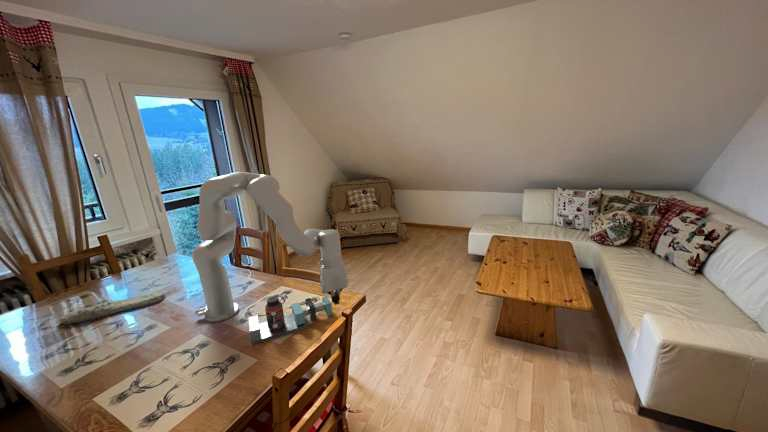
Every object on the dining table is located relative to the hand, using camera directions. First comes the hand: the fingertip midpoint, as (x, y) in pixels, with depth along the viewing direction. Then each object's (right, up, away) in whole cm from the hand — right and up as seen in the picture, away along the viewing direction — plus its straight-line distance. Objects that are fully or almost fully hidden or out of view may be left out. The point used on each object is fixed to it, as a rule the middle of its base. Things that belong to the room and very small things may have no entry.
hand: (336, 302), depth 120 cm
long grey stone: (-97, -6, +9) cm, 98 cm away
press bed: (-18, -7, -8) cm, 21 cm away
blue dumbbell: (-8, -4, -3) cm, 10 cm away
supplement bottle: (-21, -6, -9) cm, 23 cm away
